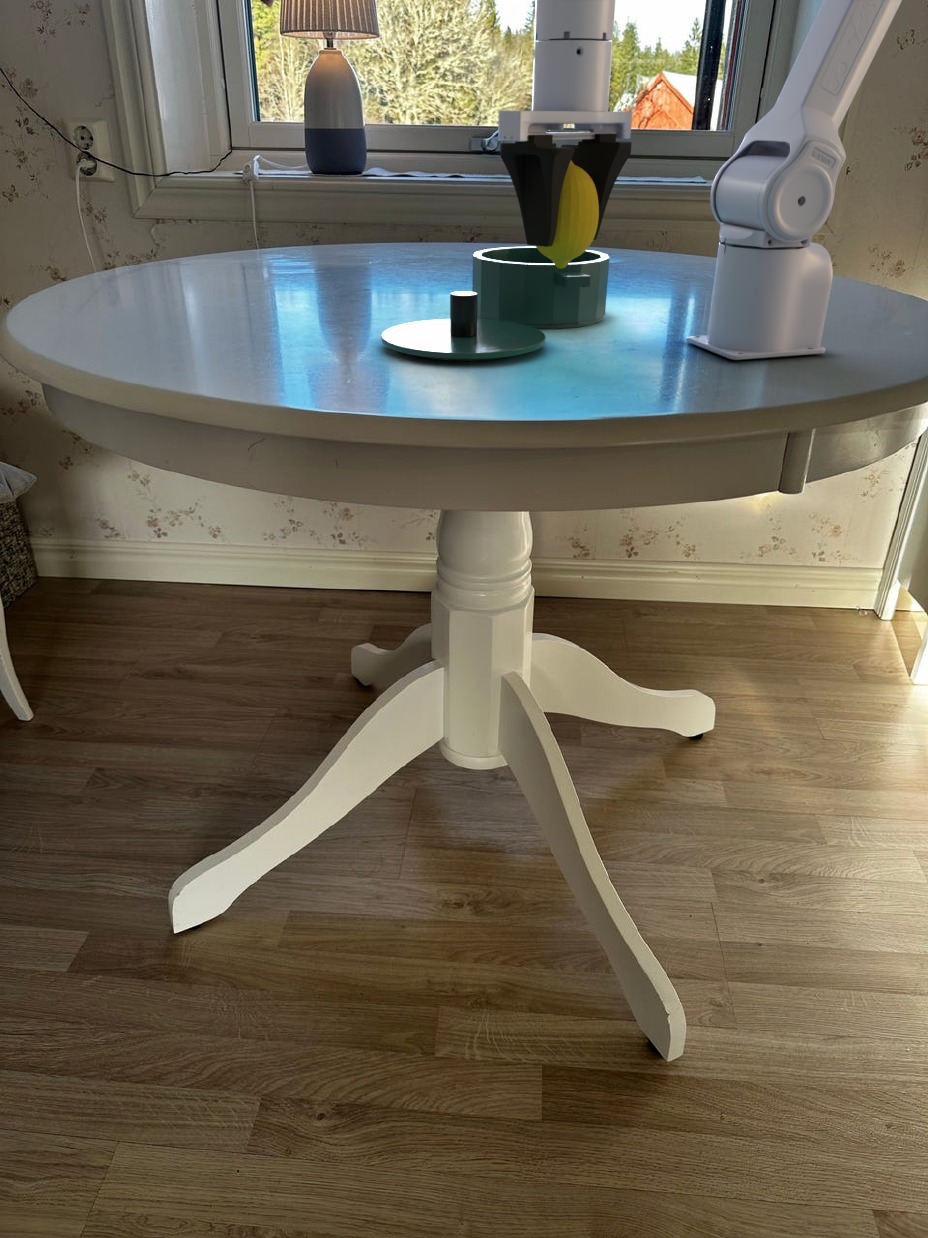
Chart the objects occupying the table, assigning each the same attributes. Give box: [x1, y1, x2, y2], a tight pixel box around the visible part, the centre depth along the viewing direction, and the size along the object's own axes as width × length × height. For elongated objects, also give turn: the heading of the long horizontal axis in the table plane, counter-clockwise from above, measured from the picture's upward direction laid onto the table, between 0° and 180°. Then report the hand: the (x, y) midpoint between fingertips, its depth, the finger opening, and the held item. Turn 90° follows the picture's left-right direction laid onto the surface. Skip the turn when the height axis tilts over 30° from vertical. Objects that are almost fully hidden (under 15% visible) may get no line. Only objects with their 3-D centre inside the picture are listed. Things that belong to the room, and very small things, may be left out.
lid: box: [381, 290, 547, 362], centre depth 81 cm, size 15×15×5 cm
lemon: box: [535, 161, 599, 269], centre depth 73 cm, size 6×6×8 cm
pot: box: [471, 246, 610, 330], centre depth 94 cm, size 14×19×6 cm
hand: (562, 241), depth 74 cm, fingers closed on lemon, 5 cm apart
